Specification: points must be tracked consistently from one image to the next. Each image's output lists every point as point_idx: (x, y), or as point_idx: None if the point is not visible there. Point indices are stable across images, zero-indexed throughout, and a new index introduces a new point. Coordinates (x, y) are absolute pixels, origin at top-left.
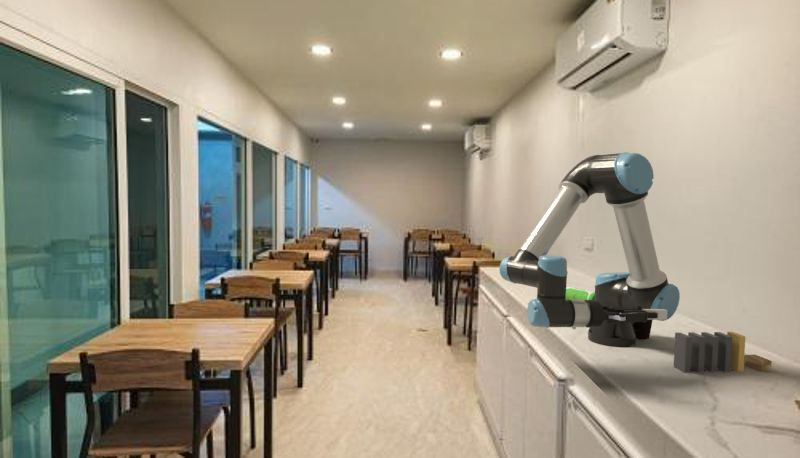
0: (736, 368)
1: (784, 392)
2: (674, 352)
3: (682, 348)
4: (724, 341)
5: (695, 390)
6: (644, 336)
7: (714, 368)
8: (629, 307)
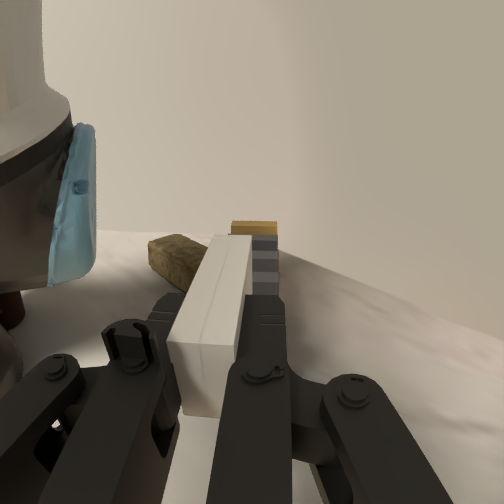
0: None
1: (393, 303)
2: None
3: None
4: None
5: (433, 451)
6: (18, 314)
7: None
8: (26, 396)
